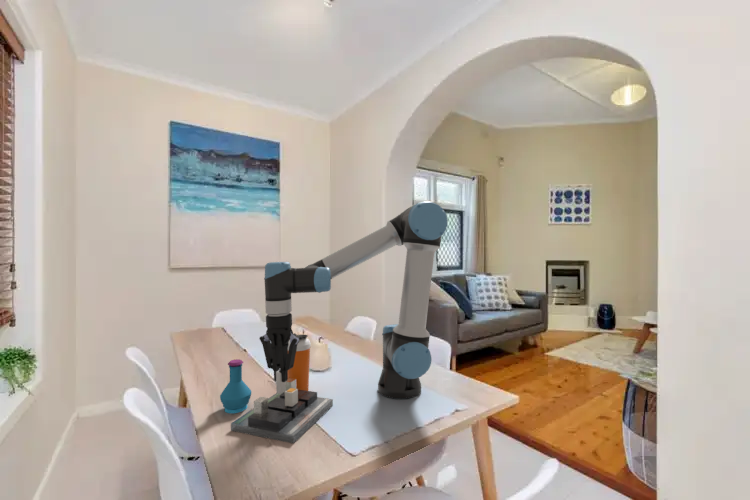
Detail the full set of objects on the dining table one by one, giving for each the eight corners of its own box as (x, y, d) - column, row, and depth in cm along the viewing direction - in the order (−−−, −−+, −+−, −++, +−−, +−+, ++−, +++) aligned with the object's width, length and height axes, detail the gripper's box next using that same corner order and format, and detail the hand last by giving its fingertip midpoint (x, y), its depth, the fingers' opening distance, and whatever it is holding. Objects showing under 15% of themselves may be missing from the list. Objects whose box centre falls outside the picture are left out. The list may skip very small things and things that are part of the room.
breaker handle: (297, 402, 107) (297, 388, 107) (292, 406, 104) (292, 392, 104) (290, 401, 108) (290, 387, 108) (285, 405, 105) (284, 391, 105)
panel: (332, 405, 115) (332, 380, 114) (293, 443, 93) (293, 412, 93) (279, 397, 121) (278, 373, 121) (230, 430, 99) (230, 401, 99)
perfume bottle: (221, 418, 107) (220, 367, 106) (219, 405, 115) (218, 359, 115) (253, 411, 111) (253, 363, 111) (249, 399, 119) (248, 354, 119)
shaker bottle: (305, 398, 120) (304, 339, 119) (280, 396, 121) (279, 337, 121) (314, 388, 128) (314, 332, 128) (291, 386, 130) (291, 331, 130)
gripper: (304, 312, 108) (306, 389, 109) (268, 310, 113) (270, 384, 113) (290, 317, 101) (293, 399, 102) (252, 315, 106) (255, 394, 106)
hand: (281, 391), depth 108 cm, fingers closed
